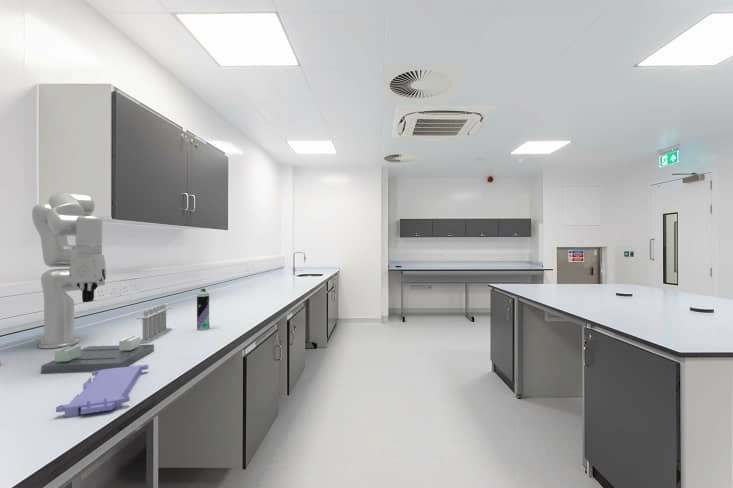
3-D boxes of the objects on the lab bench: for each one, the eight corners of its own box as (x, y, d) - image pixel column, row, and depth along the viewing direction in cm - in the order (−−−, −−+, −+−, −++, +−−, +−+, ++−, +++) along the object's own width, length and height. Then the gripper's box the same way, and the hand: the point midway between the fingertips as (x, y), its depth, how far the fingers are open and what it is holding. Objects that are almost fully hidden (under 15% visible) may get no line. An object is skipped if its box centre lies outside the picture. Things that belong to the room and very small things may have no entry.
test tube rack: (147, 343, 149) (147, 312, 149) (136, 344, 148) (136, 312, 148) (171, 329, 173) (171, 302, 173) (161, 330, 173) (161, 303, 173)
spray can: (197, 330, 170) (197, 289, 170) (196, 328, 175) (196, 288, 175) (209, 329, 172) (209, 288, 173) (208, 327, 177) (208, 287, 177)
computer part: (50, 424, 82) (126, 412, 88) (50, 405, 82) (126, 394, 88) (93, 379, 110) (149, 372, 115) (93, 365, 110) (149, 359, 115)
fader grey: (119, 350, 129) (119, 340, 129) (128, 345, 135) (128, 336, 135) (130, 350, 129) (130, 340, 129) (139, 345, 135) (139, 335, 135)
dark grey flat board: (41, 373, 114) (41, 365, 114) (88, 352, 135) (88, 346, 135) (120, 370, 116) (120, 362, 116) (154, 350, 138) (153, 344, 138)
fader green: (54, 361, 116) (54, 350, 116) (68, 356, 122) (68, 345, 122) (67, 361, 117) (67, 350, 117) (80, 355, 123) (80, 345, 123)
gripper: (58, 250, 122) (57, 303, 122) (103, 251, 123) (102, 303, 124) (74, 249, 129) (73, 299, 130) (117, 250, 131) (116, 300, 131)
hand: (88, 301), depth 127 cm, fingers closed
